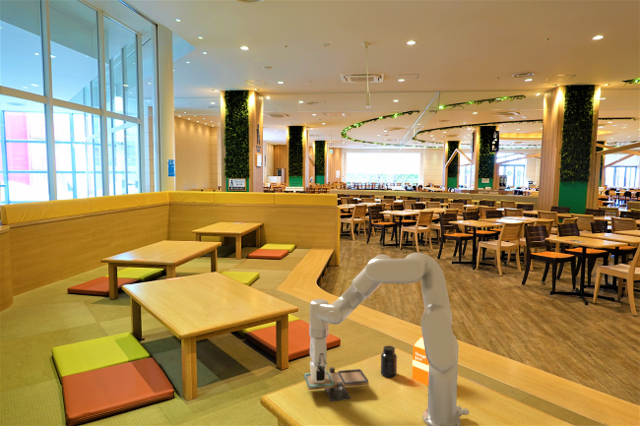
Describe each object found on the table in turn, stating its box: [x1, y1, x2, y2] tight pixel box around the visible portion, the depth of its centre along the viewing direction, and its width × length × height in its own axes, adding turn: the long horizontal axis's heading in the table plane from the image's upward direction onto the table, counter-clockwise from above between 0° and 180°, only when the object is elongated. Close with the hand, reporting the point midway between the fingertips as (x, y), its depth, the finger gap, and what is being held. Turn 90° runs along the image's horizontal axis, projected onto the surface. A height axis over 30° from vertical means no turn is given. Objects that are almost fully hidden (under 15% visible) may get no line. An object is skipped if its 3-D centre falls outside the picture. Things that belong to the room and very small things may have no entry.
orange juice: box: [412, 335, 429, 386], centre depth 163 cm, size 8×9×20 cm
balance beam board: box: [303, 368, 370, 391], centre depth 153 cm, size 24×10×2 cm, turn 103°
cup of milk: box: [309, 360, 328, 384], centre depth 152 cm, size 7×7×7 cm
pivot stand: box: [324, 366, 352, 403], centre depth 154 cm, size 8×15×6 cm, turn 13°
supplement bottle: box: [380, 345, 398, 379], centre depth 167 cm, size 7×7×12 cm
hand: (318, 375), depth 152 cm, fingers closed on cup of milk, 6 cm apart
